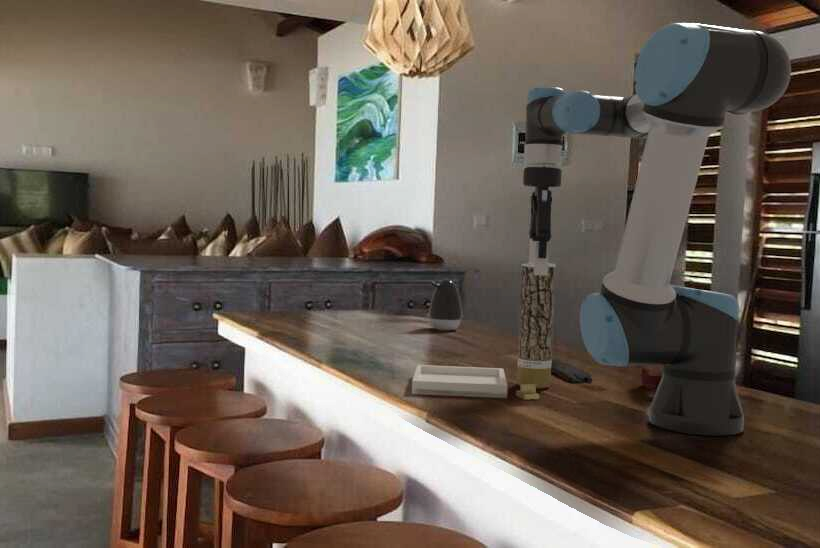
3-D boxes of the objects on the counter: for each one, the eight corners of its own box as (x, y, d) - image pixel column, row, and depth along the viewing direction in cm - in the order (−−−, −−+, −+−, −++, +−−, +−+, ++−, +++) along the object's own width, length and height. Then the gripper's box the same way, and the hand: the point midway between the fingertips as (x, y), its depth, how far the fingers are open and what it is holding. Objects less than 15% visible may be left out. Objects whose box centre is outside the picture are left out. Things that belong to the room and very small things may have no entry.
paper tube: (549, 390, 170) (555, 265, 169) (515, 388, 172) (520, 263, 170) (551, 384, 177) (556, 263, 175) (517, 382, 178) (523, 262, 177)
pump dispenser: (421, 327, 261) (423, 277, 260) (452, 326, 265) (453, 277, 264) (436, 332, 251) (438, 280, 250) (468, 331, 256) (469, 280, 255)
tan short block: (539, 400, 162) (539, 386, 162) (524, 401, 161) (525, 386, 161) (530, 396, 166) (530, 382, 166) (515, 396, 165) (516, 382, 165)
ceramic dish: (506, 398, 162) (507, 385, 162) (411, 393, 163) (412, 380, 163) (502, 380, 180) (503, 368, 179) (417, 376, 181) (417, 364, 181)
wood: (604, 385, 180) (605, 371, 180) (571, 385, 179) (571, 371, 178) (565, 367, 202) (566, 354, 201) (535, 367, 200) (536, 354, 200)
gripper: (569, 164, 159) (563, 278, 160) (555, 170, 184) (550, 269, 185) (528, 162, 159) (523, 276, 161) (519, 169, 184) (515, 267, 186)
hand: (537, 272), depth 173 cm, fingers open, 13 cm apart
